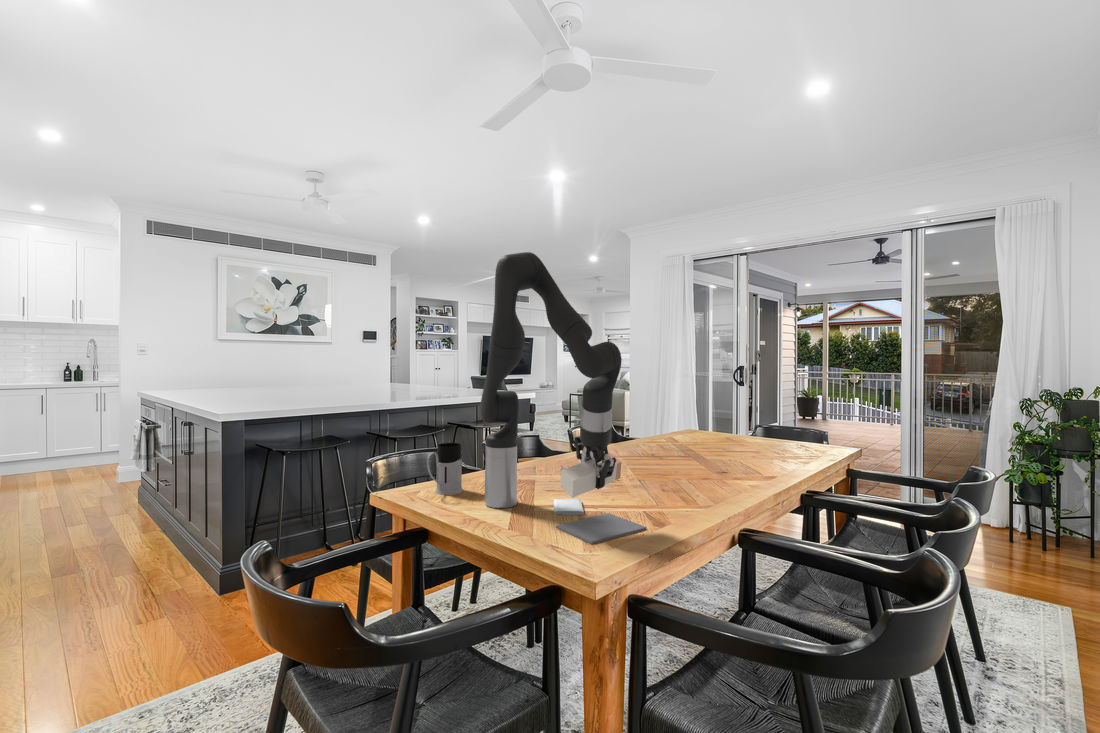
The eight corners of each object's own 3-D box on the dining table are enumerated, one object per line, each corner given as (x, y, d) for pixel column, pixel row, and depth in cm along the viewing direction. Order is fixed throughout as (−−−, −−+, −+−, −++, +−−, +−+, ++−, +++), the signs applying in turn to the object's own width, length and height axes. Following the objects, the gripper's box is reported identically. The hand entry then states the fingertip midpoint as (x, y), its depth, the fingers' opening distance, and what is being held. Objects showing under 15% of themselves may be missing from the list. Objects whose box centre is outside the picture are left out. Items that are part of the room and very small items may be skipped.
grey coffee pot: (468, 490, 166) (468, 444, 166) (438, 500, 154) (438, 450, 153) (447, 486, 170) (448, 441, 170) (417, 496, 158) (417, 448, 158)
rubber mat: (556, 527, 129) (556, 525, 129) (609, 515, 140) (609, 513, 140) (591, 544, 118) (591, 541, 118) (646, 529, 128) (646, 527, 128)
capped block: (561, 470, 125) (608, 452, 133) (560, 487, 127) (607, 468, 135) (573, 480, 121) (621, 461, 129) (572, 497, 123) (620, 478, 131)
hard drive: (584, 511, 140) (580, 498, 153) (554, 511, 140) (553, 498, 152) (584, 517, 140) (580, 503, 153) (554, 517, 140) (553, 503, 152)
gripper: (566, 415, 126) (564, 472, 133) (602, 440, 115) (598, 502, 122) (590, 407, 130) (587, 464, 137) (627, 431, 119) (622, 492, 126)
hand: (592, 481), depth 129 cm, fingers closed on capped block, 5 cm apart
